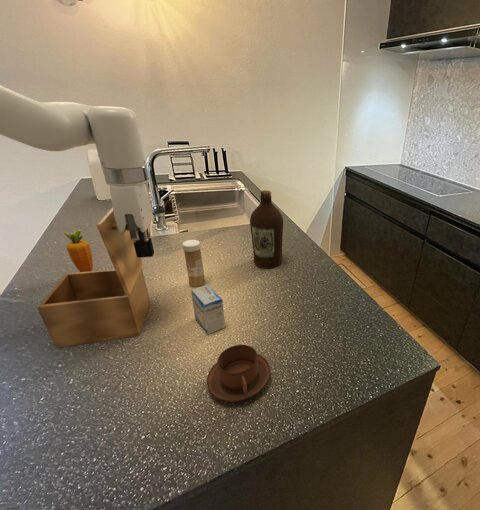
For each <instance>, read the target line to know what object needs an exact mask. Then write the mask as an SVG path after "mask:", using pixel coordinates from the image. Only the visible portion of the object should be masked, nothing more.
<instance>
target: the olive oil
mask: <svg viewBox="0 0 480 510" xmlns="http://www.w3.org/2000/svg"><path fill="white" fill-rule="evenodd" d="M249 227H250V234H251V242H252V250H253V251H252V253H253V262H254V265H255V266H256V267H258V268H261V269H274V268H277V267H279V266H280V265H282V262H283V240H284V239H283V237H284V236H283V235H284V218H283V215H282V213H281V211H280V210H279V209H278V208H277V207H276V206H275V205H274V204H273V203H272V192H271V191H270V190H261V191H260V204H259V205H257V207H256V208H254V210H253V211H252V212H251V214H250V217H249Z"/></svg>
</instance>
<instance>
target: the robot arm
mask: <svg viewBox="0 0 480 510" xmlns="http://www.w3.org/2000/svg"><path fill="white" fill-rule="evenodd" d="M0 135H1V136H3V137H5V138H8V139H10V140H13V141H16V142H19V143H21V144H24V145H26V146H29V147H32V148H35V149H39V150H42V151H48V152H64V151H67V150H71V149H74V148H79V147H83V146H87V145H88V146H89V144H95V145H96V148H97V152H98V156H99V159H100V163H101V167H102V171H103V174H104V178H105V182H106V184H107V185H110V194H111V200H110V201H111V206H112V207H113V212H114V216H115V221H116V226H117V230H118V232H119V233H120V234H123V233H124V232H125V231H126V229H125V227H126V224H128V226H129V232H130V238H131V241H133V243H134V247H135V251H136V255H137V257H138V258H141V259H142V258H152V257H153V256H154V254H155V249H154V245H153V240H152V237H151V230H150V224H151V223H152V220H153V209H152V204H151V199H150V196H149V192H148V188H147V184H149V183H150V181H151V180H150V173H149V170H148V165H147V160H146V155H145V151H144V146H143V140H142V135H141V130H140V126H139V121H138V117H137V115H136V113H135V112H134V110H132V109H130V108H127V107H121V106H107V105H104V106H103V105H97V106H96V105H95V106H94V105H89V104H84V103H78V102H73V101H45V102H43V101H42V102H40V101H37V100H35V99H32V98H30V97H28V96H25V95H23V94H21V93H19V92H16V91H14V90H12V89H10V88H7V87H5V86H3V85H1V84H0ZM112 207H111V208H112Z"/></svg>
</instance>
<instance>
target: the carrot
mask: <svg viewBox="0 0 480 510" xmlns="http://www.w3.org/2000/svg"><path fill="white" fill-rule="evenodd" d="M81 233H82V231H81V229H76V230H73V232H71V233H68V232H67V231H63V235H65V236H66V237H67V238H68V239H69V240H70V242H68V244H66V250H67V253H68V256H69V258H70V260H71V262H72V263H73V265H74V266H75V268H76V269H77V270H78V271H79V272H89V271H93V267H94V261H93V254H92V250H91V247H90V244H89V243H88V242H87V241H85V240H83V238H84V236H83V235H81Z"/></svg>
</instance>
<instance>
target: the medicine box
mask: <svg viewBox="0 0 480 510" xmlns="http://www.w3.org/2000/svg"><path fill="white" fill-rule="evenodd" d="M190 293H191V294H190V295H191V300H192V306H193V313H194V319H195V320H196V321H197V322H198V324H199V325H200V326H201V328H202V329H203V330H204V331H205V332H206V333H207V335H210V334H212V333H215V332H217V331H220V330H222V329H224V328H226V318H225V311H224V301H223V299H222V297H220V295H219V294H218V293H217V292H216V291H215V290H213V288H212V287H211V286H210V285H209V284H207V285H202V286H198V287H197V288H194V289H191V290H190Z"/></svg>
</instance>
